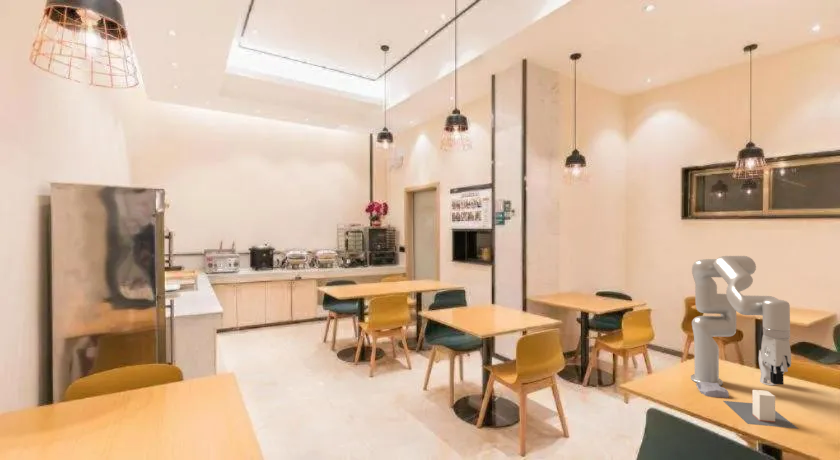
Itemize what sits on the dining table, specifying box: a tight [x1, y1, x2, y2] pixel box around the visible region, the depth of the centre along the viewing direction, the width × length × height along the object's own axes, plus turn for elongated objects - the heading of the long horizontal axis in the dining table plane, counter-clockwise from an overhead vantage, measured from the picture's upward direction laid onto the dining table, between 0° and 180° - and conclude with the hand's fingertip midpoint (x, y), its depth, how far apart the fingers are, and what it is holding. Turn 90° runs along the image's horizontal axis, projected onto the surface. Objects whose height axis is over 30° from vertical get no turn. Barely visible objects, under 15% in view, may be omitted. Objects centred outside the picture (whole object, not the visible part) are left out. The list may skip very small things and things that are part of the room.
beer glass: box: [758, 349, 778, 386], centre depth 189 cm, size 7×7×15 cm
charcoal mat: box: [722, 400, 799, 430], centre depth 159 cm, size 20×16×1 cm
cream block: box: [752, 389, 776, 422], centre depth 155 cm, size 5×5×10 cm
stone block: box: [695, 382, 730, 399], centre depth 179 cm, size 12×5×10 cm
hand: (776, 383), depth 146 cm, fingers closed
